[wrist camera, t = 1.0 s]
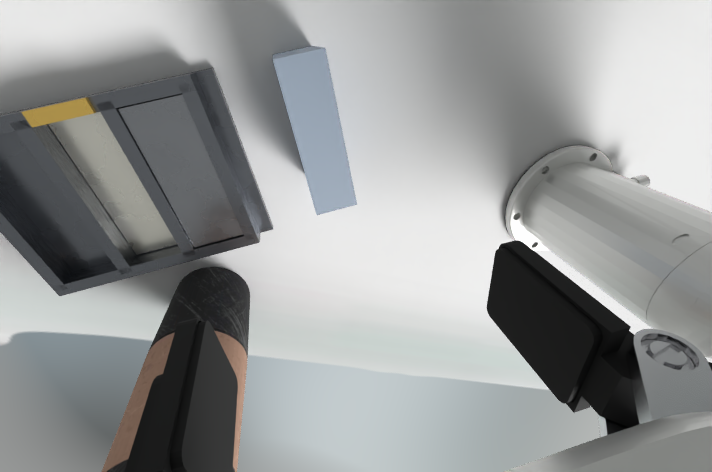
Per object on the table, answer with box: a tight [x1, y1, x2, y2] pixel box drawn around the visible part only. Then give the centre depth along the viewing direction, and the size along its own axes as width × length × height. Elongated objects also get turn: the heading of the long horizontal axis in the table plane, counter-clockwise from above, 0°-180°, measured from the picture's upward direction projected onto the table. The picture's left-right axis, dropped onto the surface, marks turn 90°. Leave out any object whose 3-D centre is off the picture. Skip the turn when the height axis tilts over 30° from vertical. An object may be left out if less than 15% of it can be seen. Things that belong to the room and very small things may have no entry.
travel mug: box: [102, 267, 250, 472], centre depth 26 cm, size 8×8×20 cm
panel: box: [273, 46, 357, 215], centre depth 24 cm, size 3×10×8 cm, turn 10°
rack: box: [0, 68, 273, 296], centre depth 26 cm, size 20×14×3 cm
